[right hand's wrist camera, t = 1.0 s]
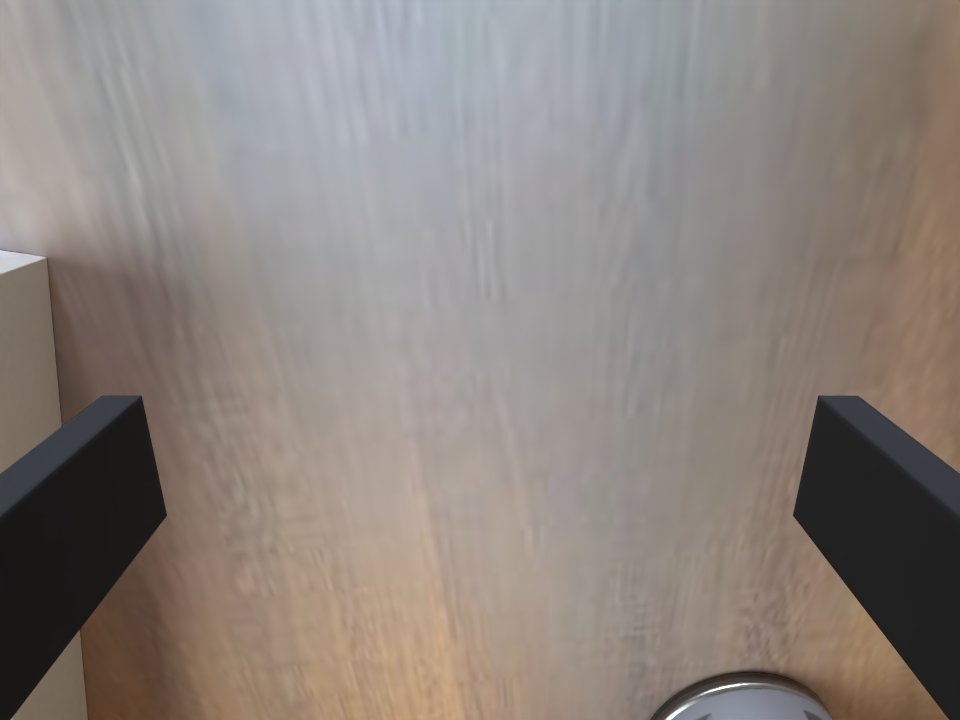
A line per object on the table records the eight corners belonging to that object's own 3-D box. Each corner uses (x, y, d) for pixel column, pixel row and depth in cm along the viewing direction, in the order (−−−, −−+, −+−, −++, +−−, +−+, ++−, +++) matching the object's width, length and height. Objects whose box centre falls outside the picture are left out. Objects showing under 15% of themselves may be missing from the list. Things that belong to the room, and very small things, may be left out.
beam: (98, 832, 56) (45, 933, 49) (46, 826, 56) (-15, 927, 49) (47, 257, 37) (-50, 291, 30) (-32, 244, 37) (-149, 277, 30)
